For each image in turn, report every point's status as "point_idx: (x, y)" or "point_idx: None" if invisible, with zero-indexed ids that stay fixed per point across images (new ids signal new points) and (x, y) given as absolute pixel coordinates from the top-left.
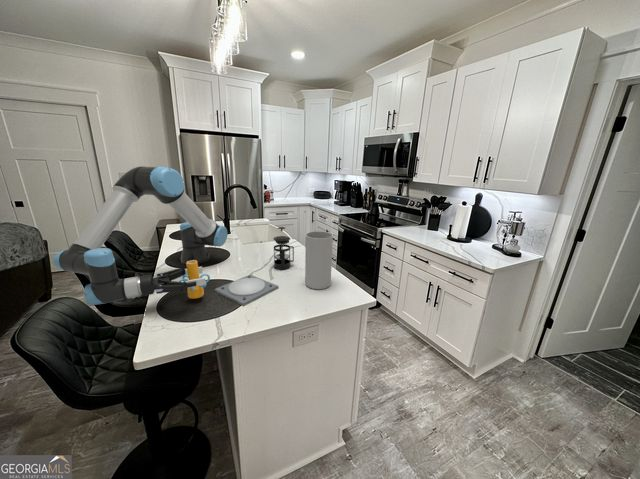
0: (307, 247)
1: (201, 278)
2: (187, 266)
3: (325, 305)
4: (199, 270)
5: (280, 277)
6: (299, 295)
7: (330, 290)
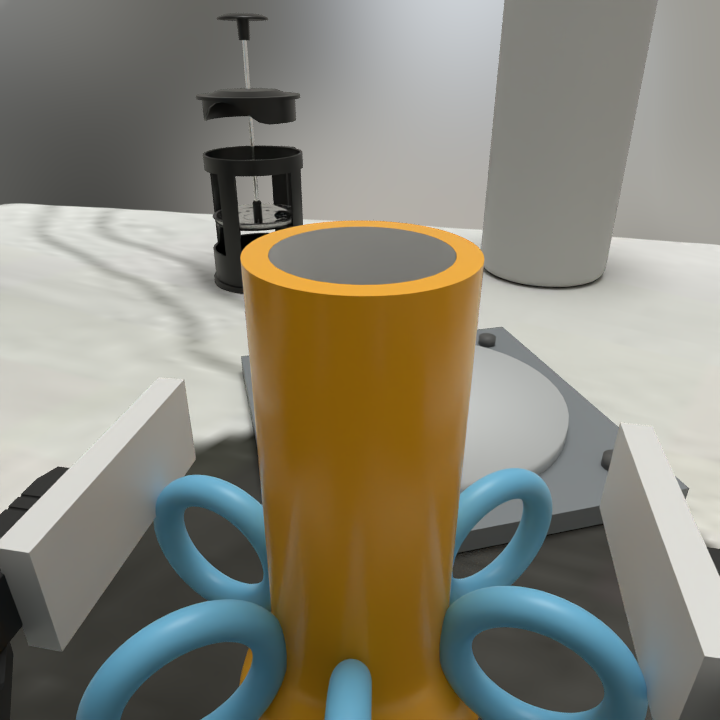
0: (587, 55)
1: (646, 455)
2: (409, 370)
3: None
4: (172, 443)
5: None
6: (627, 321)
7: (620, 267)
